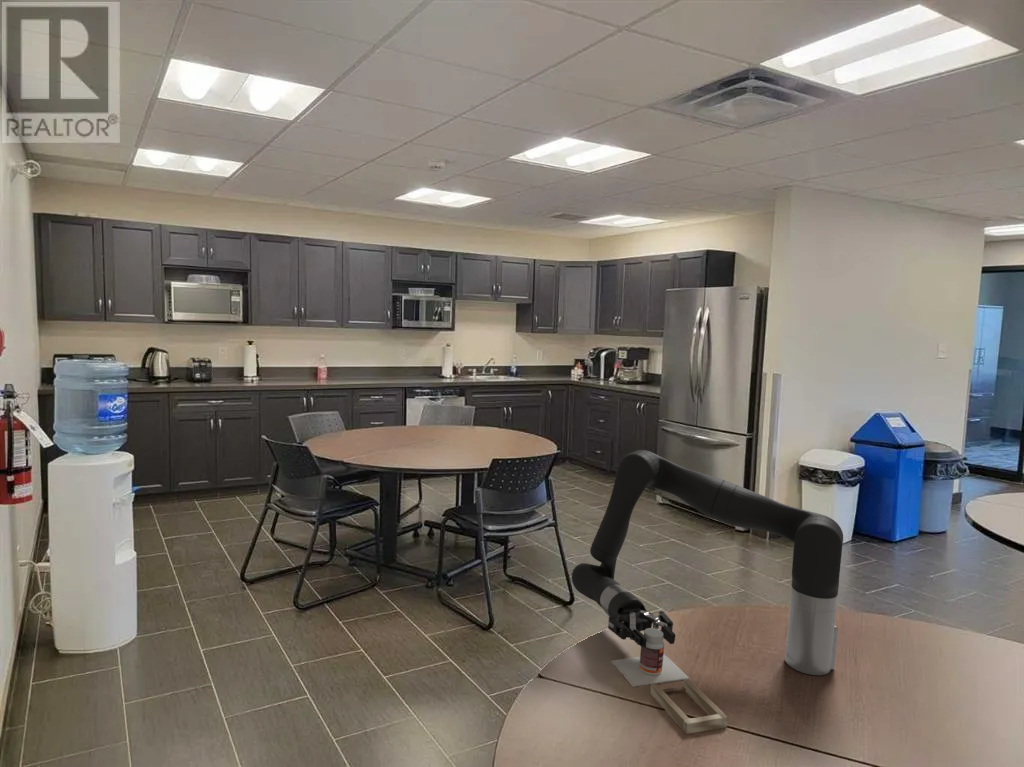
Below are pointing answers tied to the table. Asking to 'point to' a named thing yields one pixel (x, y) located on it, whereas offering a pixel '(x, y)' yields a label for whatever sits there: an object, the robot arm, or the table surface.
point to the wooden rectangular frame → (700, 723)
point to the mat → (640, 678)
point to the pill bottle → (652, 652)
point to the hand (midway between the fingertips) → (659, 641)
